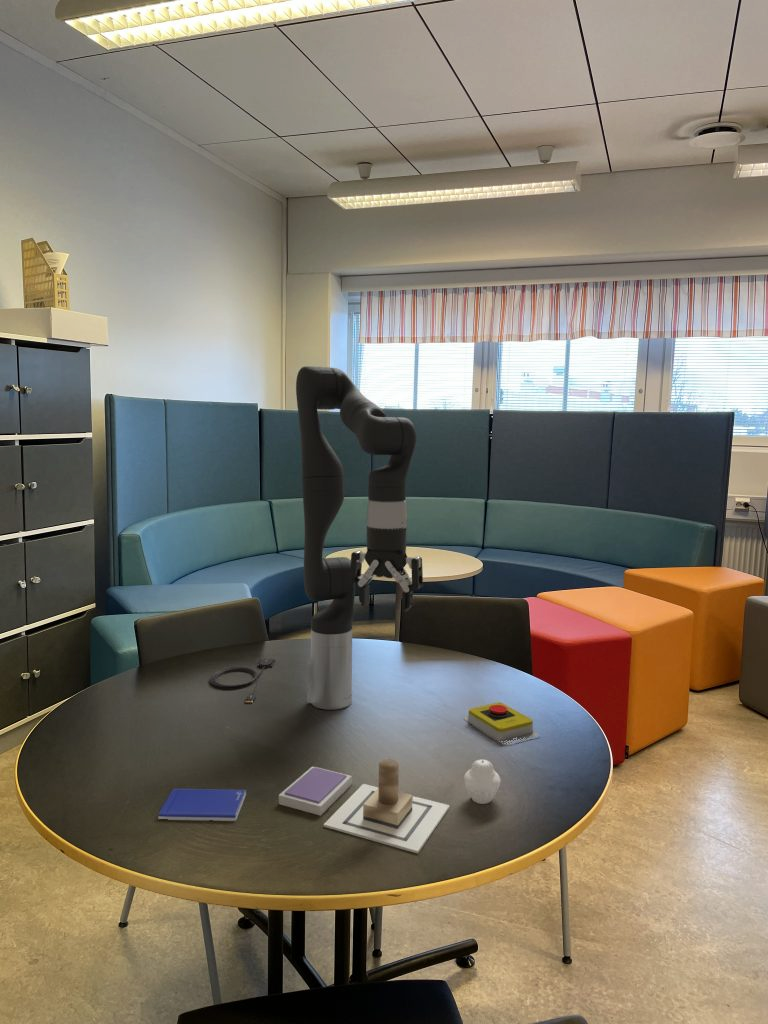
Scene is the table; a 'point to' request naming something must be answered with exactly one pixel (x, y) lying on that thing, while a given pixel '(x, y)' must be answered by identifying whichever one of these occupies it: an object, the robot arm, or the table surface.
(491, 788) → the white rounded piece
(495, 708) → the emergency button
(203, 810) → the blue book
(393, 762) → the stamp
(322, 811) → the ink pad
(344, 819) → the sheet
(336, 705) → the robot arm
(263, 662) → the cable
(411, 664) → the table surface
